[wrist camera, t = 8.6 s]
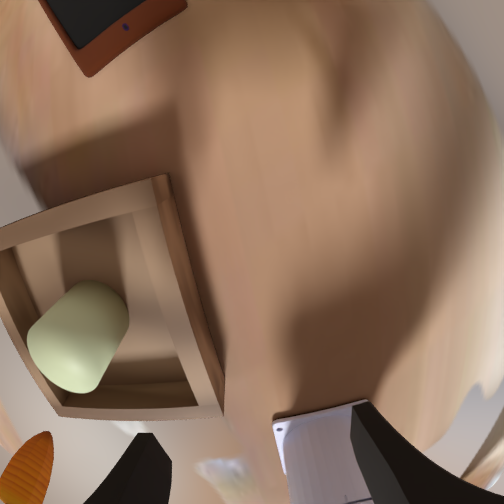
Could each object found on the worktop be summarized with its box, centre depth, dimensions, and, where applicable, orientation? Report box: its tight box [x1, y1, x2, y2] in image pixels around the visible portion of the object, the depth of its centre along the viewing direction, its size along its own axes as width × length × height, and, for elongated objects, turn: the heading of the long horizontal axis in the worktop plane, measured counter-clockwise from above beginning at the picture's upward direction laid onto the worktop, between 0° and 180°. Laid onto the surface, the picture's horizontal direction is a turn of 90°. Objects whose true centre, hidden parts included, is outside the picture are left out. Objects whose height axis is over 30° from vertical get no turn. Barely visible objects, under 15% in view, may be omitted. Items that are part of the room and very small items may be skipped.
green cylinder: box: [27, 280, 129, 393], centre depth 14 cm, size 4×4×5 cm
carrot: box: [0, 431, 54, 504], centre depth 15 cm, size 5×5×15 cm
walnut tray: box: [0, 173, 225, 421], centre depth 16 cm, size 14×13×4 cm
